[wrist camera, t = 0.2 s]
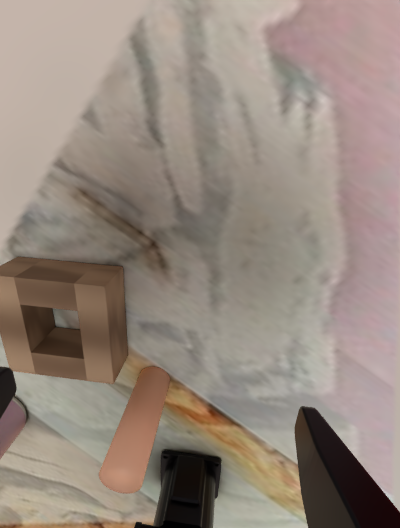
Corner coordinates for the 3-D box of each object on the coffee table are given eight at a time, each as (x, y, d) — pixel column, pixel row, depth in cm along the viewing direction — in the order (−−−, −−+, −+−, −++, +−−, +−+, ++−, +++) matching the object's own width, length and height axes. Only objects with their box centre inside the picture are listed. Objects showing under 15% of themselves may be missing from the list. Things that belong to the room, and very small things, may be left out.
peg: (169, 392, 28) (143, 496, 20) (139, 388, 28) (100, 489, 20) (170, 368, 27) (141, 468, 19) (138, 364, 27) (97, 461, 19)
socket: (128, 355, 27) (113, 384, 24) (36, 344, 28) (10, 370, 24) (122, 266, 23) (104, 286, 20) (17, 256, 24) (-16, 274, 21)
